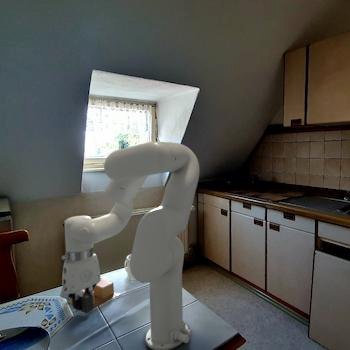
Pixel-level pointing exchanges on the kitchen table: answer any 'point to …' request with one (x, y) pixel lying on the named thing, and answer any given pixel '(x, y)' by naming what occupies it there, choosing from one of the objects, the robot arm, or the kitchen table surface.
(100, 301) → the cake board
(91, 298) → the dark block with blade
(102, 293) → the block
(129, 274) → the mug
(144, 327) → the kitchen table surface
